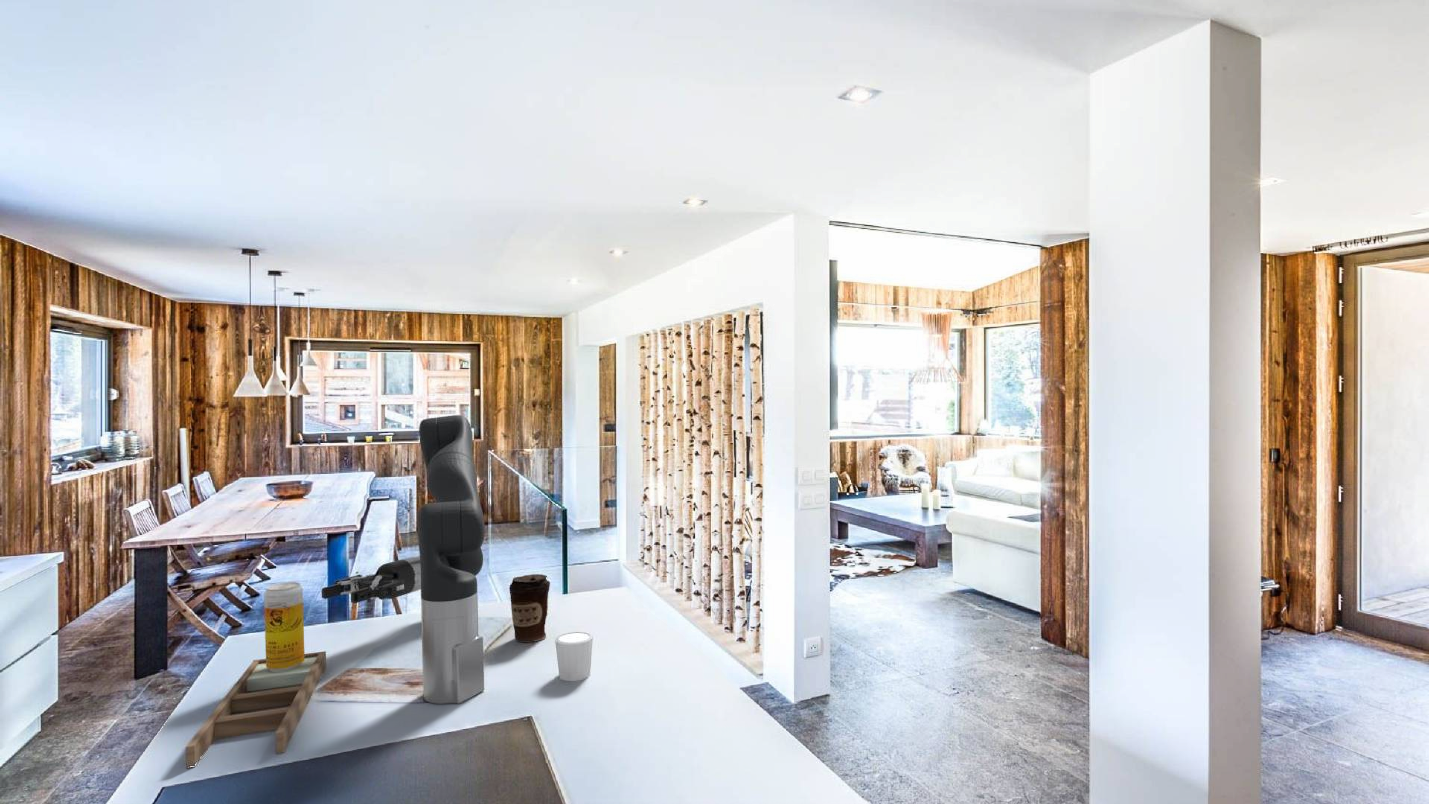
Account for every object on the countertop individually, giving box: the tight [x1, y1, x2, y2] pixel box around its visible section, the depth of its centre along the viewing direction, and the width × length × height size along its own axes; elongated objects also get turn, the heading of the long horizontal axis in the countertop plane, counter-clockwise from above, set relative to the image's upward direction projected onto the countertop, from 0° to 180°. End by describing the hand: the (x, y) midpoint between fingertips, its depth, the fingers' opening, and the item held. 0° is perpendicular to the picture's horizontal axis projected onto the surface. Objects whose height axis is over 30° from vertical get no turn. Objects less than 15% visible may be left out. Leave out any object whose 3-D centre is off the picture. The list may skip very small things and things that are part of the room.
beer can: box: [263, 581, 305, 672], centre depth 133 cm, size 6×6×15 cm
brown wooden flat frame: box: [185, 650, 327, 767], centre depth 120 cm, size 36×12×3 cm, turn 20°
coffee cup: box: [509, 573, 551, 643], centre depth 153 cm, size 9×8×13 cm
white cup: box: [554, 631, 594, 682], centre depth 132 cm, size 7×7×7 cm
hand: (337, 595), depth 142 cm, fingers open, 8 cm apart
